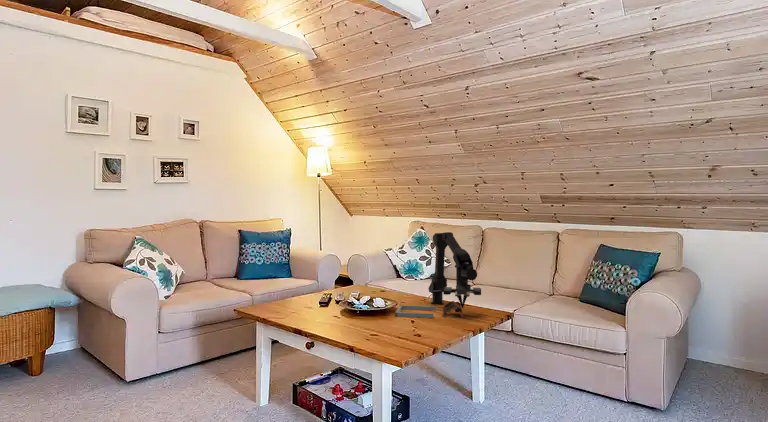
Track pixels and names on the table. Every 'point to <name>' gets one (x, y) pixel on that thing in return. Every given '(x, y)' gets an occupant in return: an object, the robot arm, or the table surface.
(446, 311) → the brown arched figure
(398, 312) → the grey u-shaped frame
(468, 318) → the table surface
